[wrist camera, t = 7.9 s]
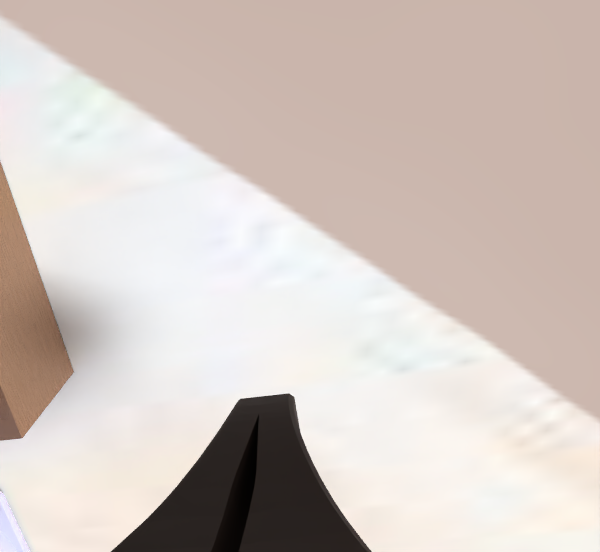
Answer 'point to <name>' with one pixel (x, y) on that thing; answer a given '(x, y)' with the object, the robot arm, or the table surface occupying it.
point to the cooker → (25, 330)
